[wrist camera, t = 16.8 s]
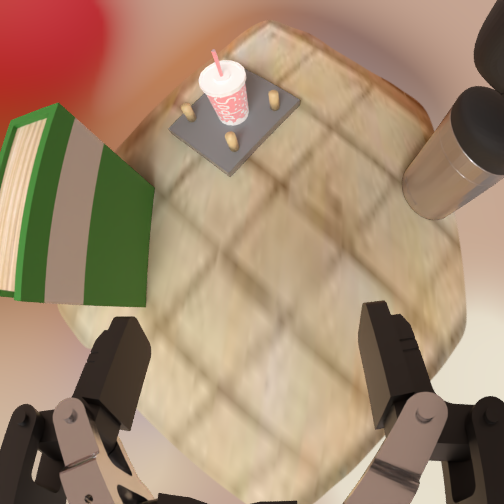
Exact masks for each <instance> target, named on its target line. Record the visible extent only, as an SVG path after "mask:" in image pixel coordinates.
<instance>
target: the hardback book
mask: <svg viewBox="0 0 504 504" xmlns="http://www.w3.org/2000/svg"><path fill="white" fill-rule="evenodd" d="M154 190H155V188H154V187H153V186H152V185H151V184H150V183H148V182H147V181H146V180H145V179H144V178H143V177H142V176H140V175H139V174H138V173H137V172H136V171H135V170H134V169H132V168H131V167H130V166H129V165H128V164H127V163H126V162H124V161H123V160H122V159H121V158H120V157H119V156H118V155H117V154H115V153H114V152H113V151H112V150H111V149H110V148H109V147H108V146H106V145H105V144H104V143H103V142H102V141H101V140H100V139H99V138H97V137H96V136H95V135H94V134H93V133H92V132H90V130H88V129H87V128H86V127H85V126H84V125H83V124H82V123H81V122H79V121H78V120H77V119H76V118H75V117H74V116H73V115H72V114H71V113H69V112H68V111H67V110H66V109H65V108H64V107H63V106H62V105H60V104H59V103H56V104H53V105H50V106H47V107H44V108H42V109H39V110H37V111H34V112H31V113H29V114H26V115H24V116H21V117H18V118H16V119H14V120H11V122H10V125H9V127H8V131H7V133H6V137H5V139H4V143H3V146H2V149H1V152H0V296H2V297H12V298H14V300H17V301H25V302H39V303H55V304H72V305H93V306H120V307H146V287H147V268H148V253H149V240H150V228H151V217H152V207H153V198H154Z"/></svg>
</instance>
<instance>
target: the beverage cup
mask: <svg viewBox="0 0 504 504" xmlns="http://www.w3.org/2000/svg"><path fill="white" fill-rule="evenodd" d="M211 52H212V55H213V58H214V60H215V63H213V64H211V65H209V66H207V67H206V68H205V69H204V70H203V71H202V72H201V74H200V77H199V85H200V88H201V89H202V91H203V92H204V93H205V94H206V95H207V97H208V98H209V100H210V102H211V104H212V106H213V108H214V110H215V112H216V113H217V115H218V117H219V119H220V120H221V121H222V123H224V124H226V125H232V126H234V125H238V124H240V123H242V122H244V121H245V120H246V118H247V117H248V114H249V109H248V101H247V93H246V86H245V81H246V73H245V70H244V67H243V66H241V65H240V64H239V63H237V62H234V61H231V60H222V61H219V60H218V57H217V54H216V51H215V49H213V50H211Z"/></svg>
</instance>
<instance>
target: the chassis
mask: <svg viewBox="0 0 504 504" xmlns="http://www.w3.org/2000/svg"><path fill="white" fill-rule="evenodd" d="M244 70H245V73H246V81H245V86H246V93H247V101H248V109H249V114H248V117H247V118H246V120H245V121H244V122H242V123H240V124H238V125H234V126H232V125H226V124H224V123H222V121H221V120H220V119H219V117H218V115H217V113H216V112H215V110H214V108H213V106H212V104H211V102H210V100H209V98H208V97H207V95H206V94H205V93H204V94H203V95H202V96H201V97H200V98H199V99H198V100H197V101H196V102H195V103H194V104H193V105H192V106H190V104H189V103H184V104H182V106H181V109H182V111H183V114H182V115H181V116H180V117H179V118H178V119H177V120H176V121H175V122H174V123H173V124H172V125H171V127H170V128H169V131H170V132H171V133H172V134H173V135H174V136H176V137H177V138H178V139H180V140H181V141H183V142H184V143H185V144H187V145H188V146H189V147H191V148H192V149H193V150H195V151H196V152H197V153H199V154H200V155H201V156H203V157H204V158H206V159H207V160H208V161H209V162H211V163H212V164H213V165H215V166H216V167H217V168H219V169H220V170H221V171H223V172H224V173H225V174H227V175H228V176H229V177H231V176H232V175H233V174H234V173H235V172H236V171H237V169H238V168H239V167H240V166H241V165H242V164H243V163H244V162H245V161H246V160H247V159H248V158H249V157H250V156H251V155H252V153H253V152H254V151H255V150H256V149H257V148H258V147H259V146H260V145H261V144H262V143H263V142H264V141H265V140H266V139H267V138H268V137H269V136H270V135H271V134H272V133H273V132H274V131H275V130H276V129H277V128H278V126H279V125H280V124H281V123H282V122H283V121H284V120H285V119H286V118H287V117H288V116H289V115H290V114H291V113H292V112H293V111H294V110H295V109H296V108H297V107H298V106H299V105H300V99H298V98H296V97H295V96H293V95H291V94H290V93H288V92H286V91H284V90H283V89H281V88H279V87H277V86H276V85H274V84H272V83H270V82H269V81H267V80H265V79H263V78H261V77H259V76H258V75H256V74H254V73H252V72H250V71H248V70H246V69H244Z"/></svg>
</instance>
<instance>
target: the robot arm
mask: <svg viewBox="0 0 504 504" xmlns="http://www.w3.org/2000/svg"><path fill="white" fill-rule="evenodd" d="M474 62H475V66H476V68H477V70H478V72H479V73H480V74H481V76H482V77H483V78H484V79H485V80H486V81H487V82H488V83H489V84H490V86H492V87H493V88H494V89H495V90H493V89H491V88H487V87H482V86H475V87H471V88H468V89H467V90H465V91H464V92H463V93H462V94H461V95H460V96H459V97H458V99H457V100H456V102H455V103H454V105H453V106H452V108H451V109H450V110H449V112H448V113H447V115H446V116H445V118H444V119H443V121H442V122H441V123H440V125H439V126H438V128H437V129H436V131H435V132H434V133H433V135H432V136H431V137H430V139H429V140H428V141H427V143H426V144H425V145H424V147H423V148H422V150H421V151H420V152H419V154H418V155H417V156H416V157H415V159H414V160H413V161H412V163H411V164H410V165H409V167H408V168H407V170H406V171H405V173H404V176H403V180H402V188H403V193H404V196H405V198H406V201H407V202H408V204H409V205H410V207H411V208H412V209H413V210H414V211H415V212H416V213H417V214H419V215H420V216H422V217H424V218H427V219H431V220H439V219H442V218H445V217H446V216H448V215H449V214H451V213H452V212H454V211H456V210H457V209H459V208H460V207H462V206H463V205H465V204H467V203H468V202H470V201H471V200H472V199H474V198H475V197H477V196H478V195H480V194H481V193H483V192H484V191H486V190H487V189H489V188H490V187H492V186H493V185H494V184H496V183H497V182H498V181H500V180H501V179H503V178H504V0H497V1H496V3H495V5H494V6H493V8H492V10H491V11H490V13H489V15H488V16H487V18H486V20H485V22H484V23H483V25H482V27H481V30H480V32H479V34H478V37H477V40H476V43H475V48H474ZM358 343H359V350H360V354H361V359H362V363H363V368H364V373H365V378H366V383H367V388H368V393H369V398H370V404H371V409H372V415H373V420H374V426H375V430H376V429H381V428H384V430H385V436H386V439H385V440H384V442H383V444H382V445H381V447H380V449H379V450H378V452H377V454H376V455H375V457H374V459H373V460H372V462H371V463H370V465H369V466H368V468H367V469H366V471H365V472H364V474H363V476H362V477H361V479H360V480H359V481H358V483H357V484H356V486H355V487H354V489H353V490H352V491H351V493H350V494H349V496H348V497H347V498H346V500H345V501H344V502H343V504H410V503H411V501H412V499H413V497H414V496H415V494H416V492H417V490H418V487H419V484H420V482H419V479H420V477H421V474H422V472H423V471H424V469H425V466H426V465H427V463H428V461H429V460H432V461H441V462H442V469H443V476H444V485H445V494H446V504H504V402H503V401H501V400H500V399H498V398H497V397H493V396H488V397H484V398H482V399H480V400H479V401H478V402H477V403H476V404H475V405H464V404H452V403H448V402H446V401H444V400H443V399H442V398H441V397H439V396H438V395H437V394H436V393H435V392H434V390H433V388H432V385H431V382H430V379H429V376H428V373H427V370H426V367H425V364H424V361H423V358H422V355H421V352H420V350H419V347H418V344H417V341H416V340H415V336H414V333H413V331H412V328H411V325H410V324H409V323H408V322H407V320H406V319H405V318H404V317H403V316H402V315H401V314H396V315H391V314H390V311H389V309H388V306H387V303H386V302H385V301H375V302H367V303H363V305H362V311H361V318H360V325H359V331H358ZM150 358H151V346H150V343H149V341H148V339H147V337H146V335H145V333H144V332H143V330H142V328H141V326H140V324H139V322H138V320H137V319H136V318H135V317H115V318H114V319H113V320H112V322H111V325H110V327H109V329H108V330H104V332H103V333H102V334H101V335H100V336H99V337H98V338H97V339H96V341H95V343H94V345H93V348H92V350H91V354H90V355H89V357H88V359H87V363H86V364H85V367H84V369H83V371H82V374H81V376H80V379H79V381H78V384H77V386H76V389H75V391H74V394H73V396H72V398H67V399H64V400H63V401H61V402H60V403H59V404H58V405H57V407H56V408H55V409H54V410H48V411H41V412H38V411H37V410H36V409H35V408H34V407H33V406H31V405H29V404H23V405H21V406H19V407H18V408H17V409H15V411H14V412H13V414H12V416H11V419H10V422H9V425H8V428H7V431H6V434H5V437H4V440H3V443H2V446H1V449H0V504H66V499H67V500H68V502H69V504H207V503H204V502H201V501H199V500H196V499H193V498H190V497H182V496H175V495H168V494H162V493H159V494H158V499H154V497H153V495H152V494H151V492H150V491H149V489H148V488H147V487H146V486H145V485H144V484H143V482H141V480H140V479H139V478H138V476H137V474H136V472H135V470H134V468H133V466H132V464H131V462H130V460H129V458H128V455H127V453H126V451H125V449H124V447H123V445H122V442H121V440H120V438H119V437H118V433H119V430H120V429H121V430H127V431H130V430H131V426H132V423H133V419H134V415H135V411H136V407H137V404H138V400H139V396H140V393H141V389H142V386H143V382H144V379H145V375H146V372H147V368H148V365H149V361H150ZM37 450H39V451H40V452H42V456H41V460H40V463H39V467H38V472H37V476H36V480H35V482H34V481H33V480H32V476H31V473H32V469H33V465H34V461H35V457H36V454H37ZM252 504H297V501H275V502H257V503H252Z"/></svg>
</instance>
